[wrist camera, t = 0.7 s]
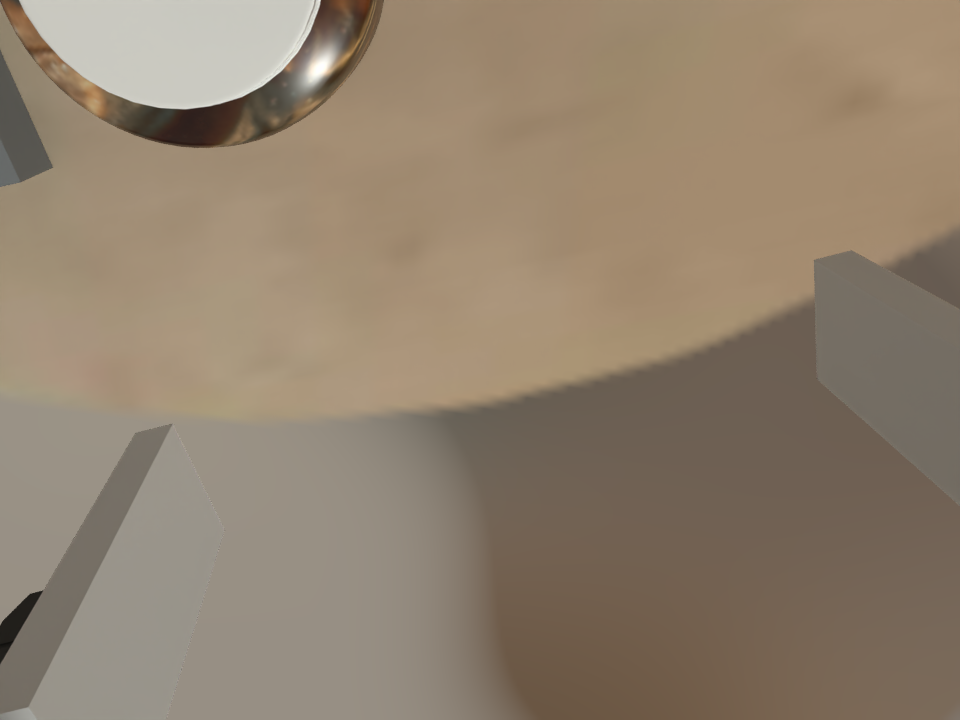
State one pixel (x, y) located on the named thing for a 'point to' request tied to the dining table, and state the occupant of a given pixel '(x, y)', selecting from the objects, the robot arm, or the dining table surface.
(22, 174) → the tray
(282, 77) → the jar
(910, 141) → the dining table surface
